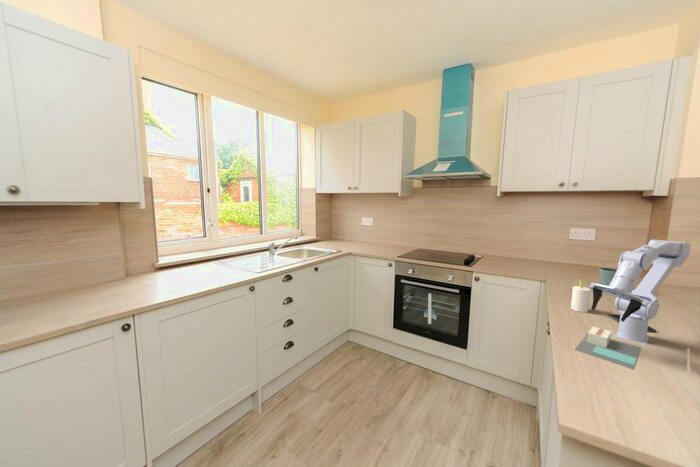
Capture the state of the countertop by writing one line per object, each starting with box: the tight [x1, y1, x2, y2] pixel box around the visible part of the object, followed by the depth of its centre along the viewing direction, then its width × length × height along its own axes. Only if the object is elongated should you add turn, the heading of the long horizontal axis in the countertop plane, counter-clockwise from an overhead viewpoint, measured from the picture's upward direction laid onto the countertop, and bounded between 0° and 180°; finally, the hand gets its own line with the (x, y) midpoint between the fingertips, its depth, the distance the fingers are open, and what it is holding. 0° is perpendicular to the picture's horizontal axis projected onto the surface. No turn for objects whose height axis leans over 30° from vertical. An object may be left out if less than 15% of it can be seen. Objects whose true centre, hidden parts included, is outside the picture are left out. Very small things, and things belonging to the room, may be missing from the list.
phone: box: [607, 313, 657, 333], centre depth 114 cm, size 8×1×15 cm
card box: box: [587, 326, 612, 348], centre depth 97 cm, size 8×5×4 cm, turn 129°
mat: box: [574, 332, 642, 370], centre depth 93 cm, size 20×14×1 cm
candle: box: [570, 278, 591, 313], centre depth 127 cm, size 6×6×15 cm
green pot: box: [598, 267, 618, 286], centre depth 158 cm, size 10×10×12 cm
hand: (607, 314), depth 92 cm, fingers open, 7 cm apart
